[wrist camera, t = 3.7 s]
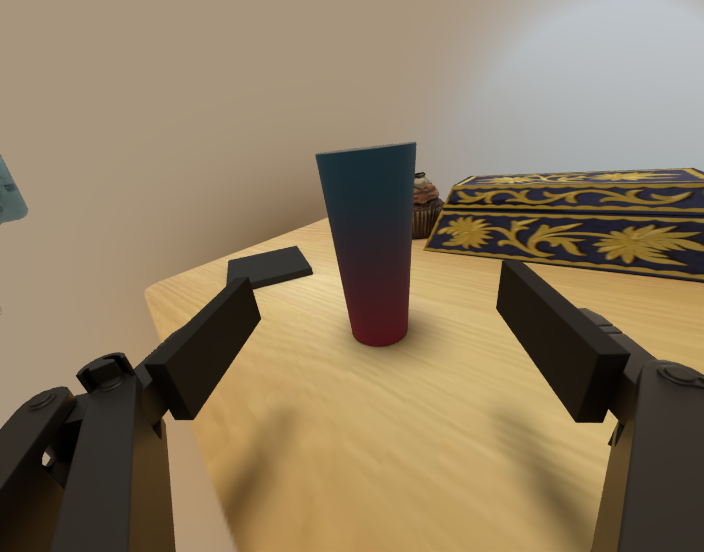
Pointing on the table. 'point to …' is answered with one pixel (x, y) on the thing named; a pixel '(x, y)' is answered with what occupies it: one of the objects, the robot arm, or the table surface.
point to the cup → (372, 234)
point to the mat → (269, 267)
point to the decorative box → (581, 220)
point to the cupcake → (425, 207)
